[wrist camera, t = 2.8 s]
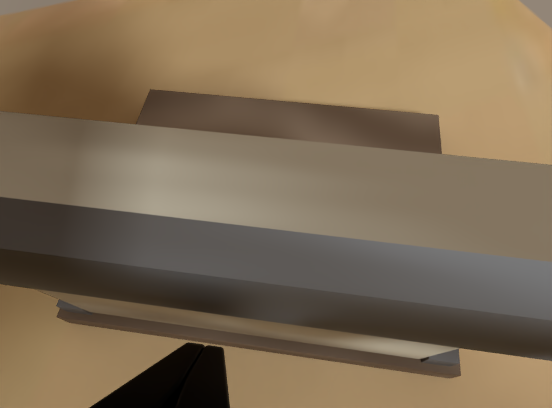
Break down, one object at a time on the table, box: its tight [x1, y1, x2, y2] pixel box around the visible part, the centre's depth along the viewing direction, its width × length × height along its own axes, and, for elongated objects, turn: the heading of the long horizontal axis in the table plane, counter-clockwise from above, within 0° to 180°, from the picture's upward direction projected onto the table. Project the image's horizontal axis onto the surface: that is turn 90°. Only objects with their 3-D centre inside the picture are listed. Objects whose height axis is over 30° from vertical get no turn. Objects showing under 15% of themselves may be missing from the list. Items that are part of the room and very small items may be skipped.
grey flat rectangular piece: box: [0, 111, 552, 361], centre depth 11 cm, size 12×14×2 cm
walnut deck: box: [56, 89, 461, 378], centre depth 20 cm, size 14×18×2 cm
